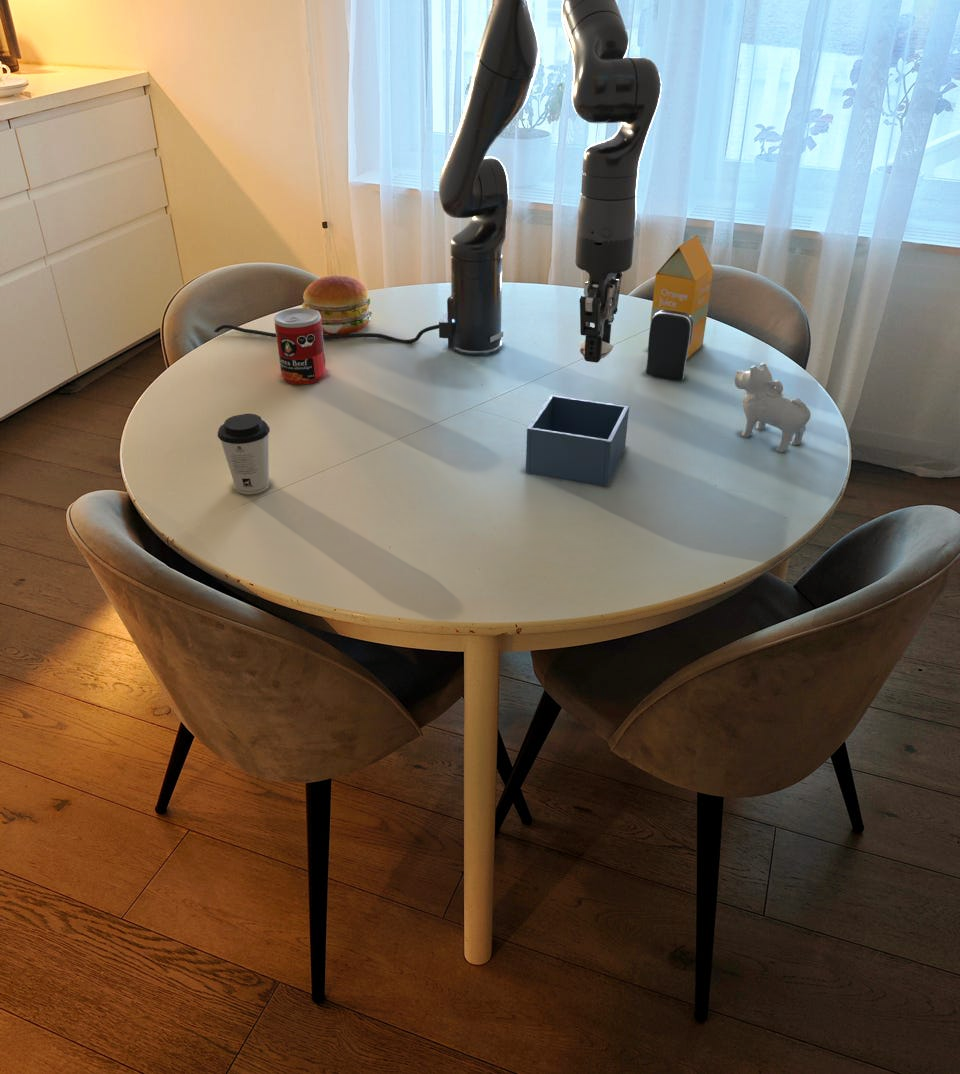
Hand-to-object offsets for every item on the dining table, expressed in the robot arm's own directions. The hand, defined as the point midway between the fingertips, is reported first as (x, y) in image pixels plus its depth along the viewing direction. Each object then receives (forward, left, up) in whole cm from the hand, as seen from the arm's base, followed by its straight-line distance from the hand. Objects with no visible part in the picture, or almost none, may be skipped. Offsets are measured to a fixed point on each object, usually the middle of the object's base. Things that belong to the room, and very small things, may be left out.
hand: (596, 354), depth 127 cm
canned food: (-54, +9, -16) cm, 57 cm away
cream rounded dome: (0, 0, -1) cm, 1 cm away
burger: (-60, +32, -16) cm, 70 cm away
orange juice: (+4, +46, -16) cm, 48 cm away
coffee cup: (-41, -27, -16) cm, 52 cm away
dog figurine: (+24, +15, -16) cm, 32 cm away
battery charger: (+5, +33, -16) cm, 36 cm away
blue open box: (-1, -3, -12) cm, 12 cm away
